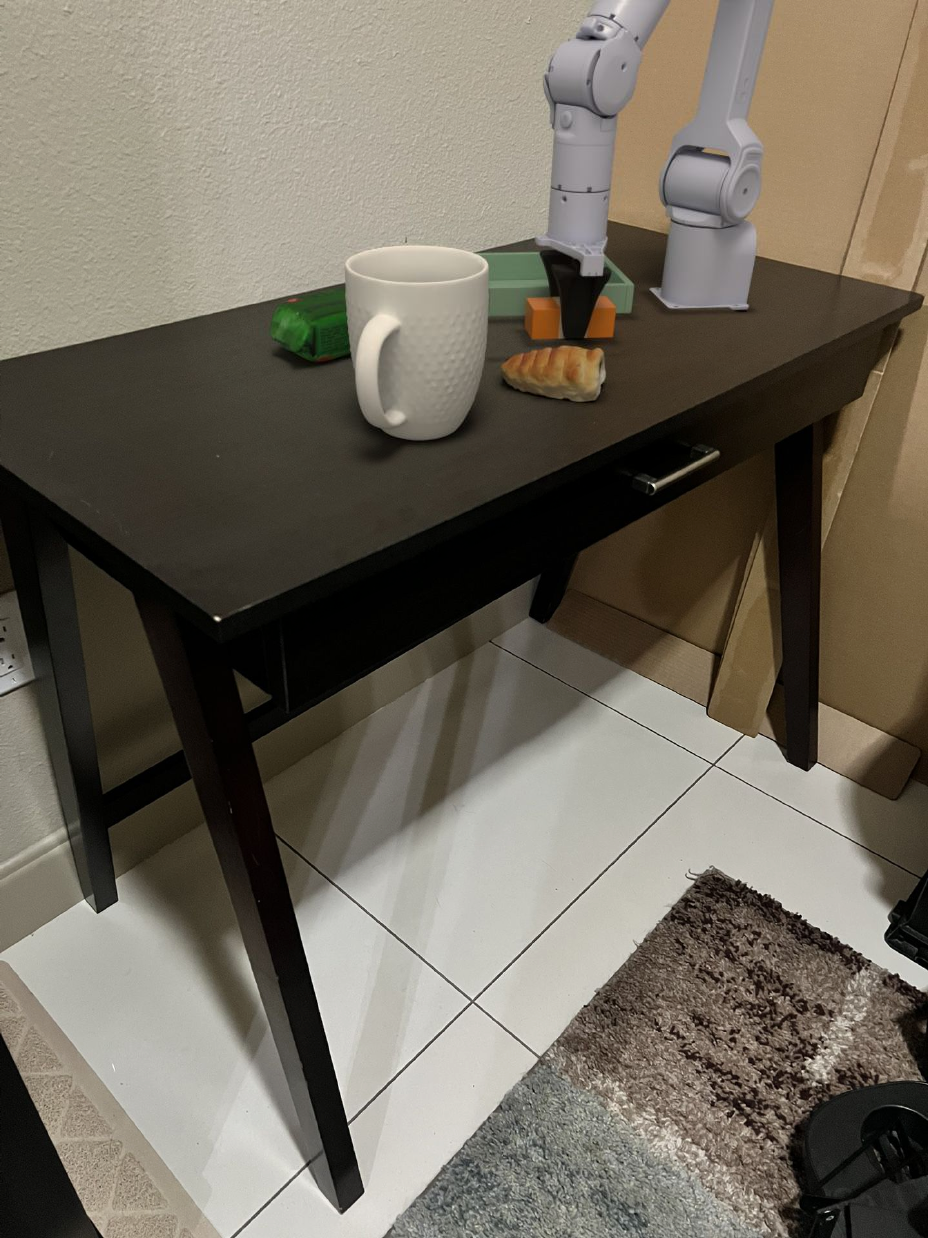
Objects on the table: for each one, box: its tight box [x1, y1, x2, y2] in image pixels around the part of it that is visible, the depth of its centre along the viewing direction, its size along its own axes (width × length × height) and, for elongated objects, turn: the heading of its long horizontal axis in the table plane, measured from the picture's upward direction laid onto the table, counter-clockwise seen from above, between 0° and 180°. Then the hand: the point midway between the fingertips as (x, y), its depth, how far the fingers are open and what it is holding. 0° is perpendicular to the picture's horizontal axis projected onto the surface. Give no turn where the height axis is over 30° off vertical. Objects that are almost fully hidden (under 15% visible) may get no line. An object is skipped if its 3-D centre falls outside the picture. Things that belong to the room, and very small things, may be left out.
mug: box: [344, 244, 489, 441], centre depth 72 cm, size 15×11×13 cm
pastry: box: [500, 345, 607, 403], centre depth 83 cm, size 9×7×4 cm
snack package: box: [269, 286, 351, 363], centre depth 91 cm, size 7×16×5 cm, turn 131°
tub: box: [473, 251, 635, 318], centre depth 106 cm, size 17×15×4 cm
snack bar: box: [524, 296, 617, 340], centre depth 95 cm, size 8×4×4 cm, turn 97°
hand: (568, 329), depth 96 cm, fingers closed on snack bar, 4 cm apart
